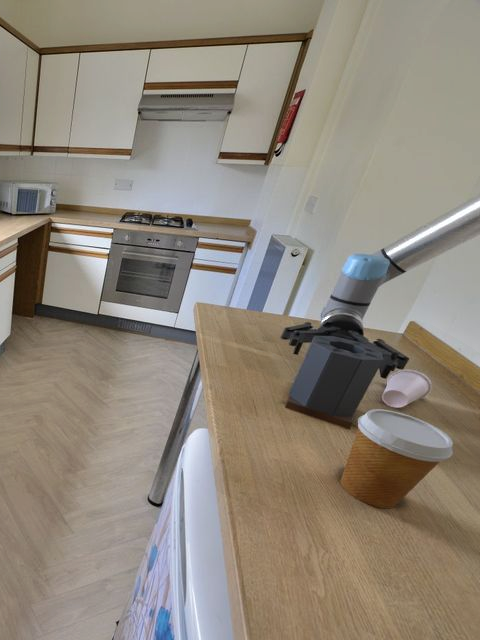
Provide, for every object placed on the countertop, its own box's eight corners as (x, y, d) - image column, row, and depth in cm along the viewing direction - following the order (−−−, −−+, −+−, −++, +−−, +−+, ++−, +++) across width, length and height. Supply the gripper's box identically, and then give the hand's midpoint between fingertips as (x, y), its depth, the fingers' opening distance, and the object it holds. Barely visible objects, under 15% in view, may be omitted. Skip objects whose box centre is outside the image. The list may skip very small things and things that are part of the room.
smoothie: (370, 382, 84) (393, 363, 90) (375, 412, 84) (397, 390, 91) (416, 384, 78) (436, 363, 85) (420, 416, 79) (440, 392, 85)
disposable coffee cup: (423, 505, 59) (471, 439, 54) (391, 527, 55) (439, 458, 50) (346, 463, 67) (381, 401, 62) (313, 479, 63) (348, 415, 58)
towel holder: (349, 407, 82) (379, 352, 77) (349, 429, 76) (382, 370, 70) (289, 388, 88) (313, 336, 83) (284, 407, 81) (310, 351, 76)
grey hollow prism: (352, 400, 82) (381, 347, 77) (352, 422, 75) (384, 365, 70) (292, 382, 88) (315, 331, 82) (287, 401, 81) (312, 346, 75)
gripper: (406, 361, 90) (418, 400, 75) (271, 328, 104) (259, 355, 89) (424, 330, 86) (440, 364, 71) (282, 300, 101) (271, 323, 86)
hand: (340, 359), depth 80 cm, fingers open, 13 cm apart
